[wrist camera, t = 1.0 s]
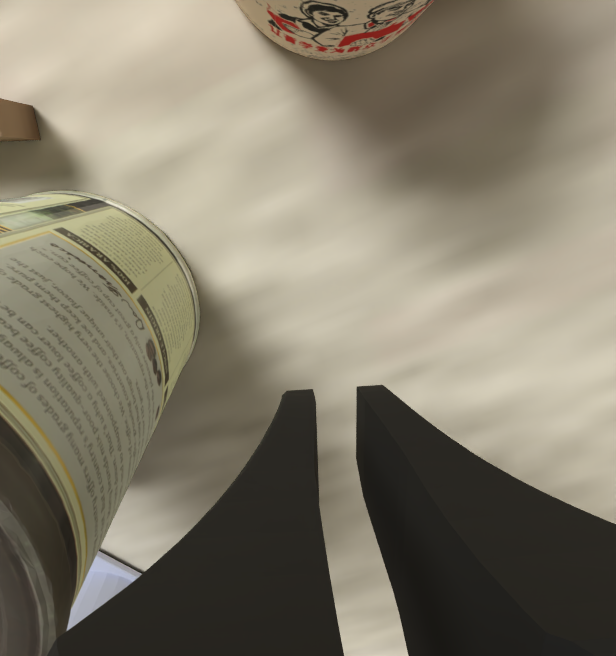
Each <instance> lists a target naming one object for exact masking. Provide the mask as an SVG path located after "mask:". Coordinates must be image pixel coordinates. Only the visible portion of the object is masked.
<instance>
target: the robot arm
mask: <svg viewBox="0 0 616 656" xmlns="http://www.w3.org/2000/svg"><path fill="white" fill-rule="evenodd" d="M356 460H357V465H358V471H359V476H360V481H361V487H362V492H363V497H364V500H365V503H366V507H367V510H368V513H369V516H370V519H371V523H372V526H373V529H374V532H375V535H376V538H377V542H378V545H379V548H380V551H381V554H382V557H383V560H384V564H385V567H386V570H387V573H388V576H389V579H390V582H391V586H392V589H393V592H394V596H395V599H396V603H397V607H398V610H399V614H400V619H401V623H402V628H403V632H404V637H405V641H406V646H407V650H408V655H409V656H616V524H613V523H611V522H608V521H606V520H604V519H601V518H599V517H597V516H594V515H592V514H590V513H587V512H585V511H583V510H580V509H578V508H576V507H574V506H571V505H569V504H567V503H565V502H563V501H561V500H559V499H557V498H554V497H552V496H550V495H548V494H546V493H544V492H542V491H540V490H538V489H536V488H534V487H532V486H530V485H528V484H526V483H524V482H522V481H520V480H518V479H516V478H515V477H513V476H511V475H509V474H508V473H506V472H504V471H502V470H500V469H499V468H497V467H495V466H493V465H492V464H490V463H488V462H486V461H485V460H483V459H482V458H480V457H478V456H477V455H475V454H474V453H472V452H470V451H469V450H467V449H466V448H465V447H463V446H462V445H460V444H459V443H457V442H456V441H454V440H453V439H451V438H450V437H448V436H447V435H445V434H444V433H443V432H441V431H440V430H439V429H437V428H436V427H435V426H433V425H432V424H431V423H429V422H428V421H427V420H425V419H424V418H423V417H421V416H420V415H419V414H418V413H416V412H415V411H414V410H413V409H411V408H410V407H409V406H408V405H407V404H405V403H404V402H403V401H402V400H400V399H399V398H398V397H397V396H396V395H394V394H393V393H392V392H391V391H390V390H388V389H387V388H386V387H384V386H383V385H375V386H359V387H357V423H356ZM47 656H344V653H343V648H342V643H341V637H340V632H339V627H338V621H337V615H336V609H335V603H334V598H333V592H332V586H331V580H330V574H329V568H328V562H327V555H326V549H325V543H324V536H323V530H322V523H321V516H320V509H319V485H318V455H317V425H316V401H315V396H314V392H313V389H309V390H293V391H286V392H285V393H284V394H283V395H282V399H281V402H280V405H279V408H278V410H277V412H276V414H275V417H274V419H273V421H272V423H271V425H270V426H269V428H268V430H267V432H266V434H265V436H264V437H263V439H262V441H261V443H260V444H259V446H258V447H257V449H256V450H255V452H254V453H253V455H252V456H251V458H250V460H249V461H248V463H247V464H246V466H245V467H244V468H243V470H242V471H241V473H240V474H239V475H238V477H237V478H236V479H235V481H234V482H233V483H232V484H231V486H230V487H229V488H228V489H227V491H226V492H225V493H224V494H223V495H222V497H221V498H220V499H219V500H218V501H217V503H216V504H215V505H214V506H213V507H212V508H211V509H210V510H209V511H208V512H207V513H206V515H205V516H204V517H203V518H202V519H201V520H200V521H199V522H198V523H197V524H196V525H195V526H194V527H193V528H192V529H191V530H190V531H189V532H188V533H187V534H186V535H185V536H184V537H183V538H182V539H181V540H180V541H179V542H178V543H177V544H176V545H175V546H174V547H172V548H171V549H170V550H169V551H168V552H167V553H166V554H165V555H163V556H162V557H161V558H160V559H159V560H158V561H157V562H156V563H154V564H153V565H152V566H151V567H150V568H149V569H148V570H147V571H145V572H144V573H143V574H141V573H139V572H137V571H135V570H134V569H132V568H130V567H128V566H126V565H124V564H122V563H120V562H119V561H117V560H115V559H113V558H111V557H109V556H107V555H106V554H104V553H102V552H100V551H98V553H97V555H96V557H95V559H94V561H93V563H92V566H91V568H90V570H89V572H88V574H87V576H86V579H85V581H84V583H83V585H82V587H81V589H80V592H79V594H78V596H77V598H76V600H75V602H74V604H73V607H72V609H71V612H70V618H69V622H68V627H67V631H66V632H65V633H63V634H62V635H60V636H59V637H58V638H57V639H56V640H55V641H54V643H53V645H52V647H51V649H50V651H49V652H48V654H47Z"/></svg>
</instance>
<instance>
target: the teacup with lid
mask: <svg viewBox="0 0 616 656" xmlns="http://www.w3.org/2000/svg"><path fill="white" fill-rule="evenodd" d="M235 1H236V3H237V4H238V6H239V7H240V8H241V10H242V11H243V12H244V13H245V15H246V16H247V17H248V19H249V20H250V21H251V22H252V23H253V24H254V25H255V26H256V27H257V28H258V29H259V30H260V31H261V32H262V33H264V34H265V35H266V36H267V37H268V38H270V39H271V40H273V41H274V42H275V43H277V44H279V45H280V46H282V47H284V48H286V49H287V50H290V51H292V52H294V53H297V54H299V55H302V56H306V57H309V58H314V59H319V60H345V59H352V58H356V57H360V56H363V55H366V54H368V53H371V52H374V51H376V50H378V49H380V48H382V47H383V46H385V45H387V44H388V43H390V42H391V41H393V40H394V39H396V38H397V37H398V36H400V35H401V34H402V33H403V32H404V31H406V30H407V29H408V28H409V27H410V26H411V25H412V24H413V23H414V22H415V21H416V20H417V19H418V17H419V16H420V15H421V14H422V13H423V12H424V11H425V10H426V9H427V8H428V7H429V6H430V5H431V4H432V3H433V2H434V1H435V0H235Z"/></svg>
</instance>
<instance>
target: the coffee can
mask: <svg viewBox="0 0 616 656" xmlns="http://www.w3.org/2000/svg"><path fill="white" fill-rule="evenodd" d="M199 323H200V307H199V301H198V294H197V290H196V286H195V283H194V280H193V278H192V275H191V272H190V270H189V268H188V267H187V265H186V263H185V261H184V260H183V258H182V256H181V255H180V253H179V252H178V250H177V249H176V248H175V246H174V245H173V244H172V243H171V242H170V241H169V239H168V238H167V237H166V235H165V234H164V233H163V232H162V231H161V230H160V229H159V228H157V227H156V226H154V225H153V224H152V223H151V222H150V221H148V220H147V219H146V218H145V217H143V216H142V215H140V214H139V213H137V212H135V211H134V210H132V209H131V208H129V207H127V206H125V205H123V204H121V203H119V202H116V201H114V200H111V199H109V198H106V197H102V196H99V195H96V194H92V193H87V192H80V191H75V190H69V191H68V190H57V191H47V192H41V193H35V194H31V195H28V196H25V197H20V198H12V199H3V200H0V656H47V654H48V652H49V651H50V649H51V647H52V645H53V643H54V641H55V640H56V639H57V638H58V637H59V636H60V635H62V634H63V633H65V632H66V631H67V627H68V622H69V618H70V612H71V609H72V607H73V604H74V602H75V600H76V598H77V596H78V594H79V592H80V589H81V587H82V585H83V583H84V581H85V579H86V576H87V574H88V572H89V570H90V568H91V566H92V563H93V561H94V559H95V557H96V555H97V553H98V551H99V548H100V546H101V544H102V542H103V540H104V538H105V535H106V533H107V531H108V529H109V527H110V525H111V523H112V520H113V518H114V516H115V514H116V512H117V510H118V508H119V505H120V503H121V501H122V499H123V497H124V495H125V492H126V490H127V488H128V486H129V484H130V482H131V479H132V477H133V475H134V473H135V471H136V469H137V466H138V464H139V462H140V460H141V458H142V456H143V453H144V451H145V449H146V447H147V445H148V443H149V440H150V438H151V436H152V434H153V432H154V430H155V428H156V426H157V423H158V421H159V419H160V416H161V414H162V412H163V410H164V407H165V405H166V403H167V401H168V399H169V397H170V395H171V393H172V390H173V388H174V386H175V384H176V382H177V379H178V377H179V375H180V373H181V371H182V368H183V367H184V366H185V364H186V363H187V361H188V359H189V357H190V355H191V353H192V351H193V349H194V346H195V343H196V339H197V336H198V331H199Z"/></svg>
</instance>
